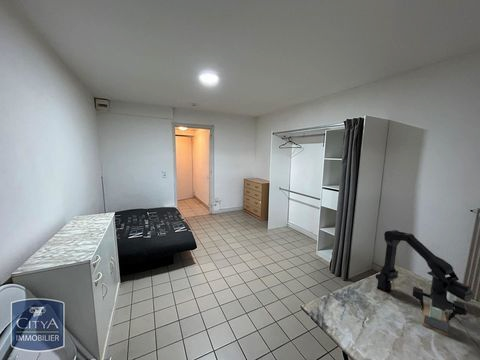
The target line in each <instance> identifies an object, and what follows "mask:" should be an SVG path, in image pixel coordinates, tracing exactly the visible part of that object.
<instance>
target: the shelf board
mask: <svg viewBox="0 0 480 360" xmlns="http://www.w3.org/2000/svg"><path fill="white" fill-rule="evenodd" d="M423 302H424V311H423V310H422V309H421V325H422V326H423V327H425V328H427V329H430V330H432V331H434V332H436V333H439V334H441V335H442V336H443V335H444V336H445V337H449V329H447V333H446V332H444V331H441V330H439V329H437V328H434V327H432V326H430V325H427V324H425V323H424V316H425V315H427V316H429V312H430V305H431V303H428V302H426V301H423ZM441 321H442V322H444V323H447V324H448V322H447V321H448V320H447V315H446V311H443V310H442V317H441Z"/></svg>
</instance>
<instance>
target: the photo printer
mask: <svg viewBox="0 0 480 360" xmlns="http://www.w3.org/2000/svg"><path fill="white" fill-rule="evenodd" d="M457 299H458V297H456V296H454V295H452V294H451V293H449V292H447V300H449V301H450V302H453V300H455V301H458V300H457Z"/></svg>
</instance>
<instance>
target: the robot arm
mask: <svg viewBox="0 0 480 360" xmlns="http://www.w3.org/2000/svg"><path fill="white" fill-rule="evenodd" d="M383 235H384V237H383V239H384V241H385V244H386V248H385V255H384V256H385V258H384V265H383V266H382V267H381V268H380V272H379V273H377V274H375V279H376V280H377V284H376V285H377V286H376V289H377V290H380V291H382V292H385V293H388V294H390V293H391V291H392V285H393V283H392V282H393V281H394V280H396V279H397V278H399V276H398V274H399V270H397V269H396V268H395V265H396V256H397V247H398V245H399V244H400V242H403V241H404V242H406V243H407V244H408V245H409V246H410V248H411V249H413V250H414V251H416V253H417V254H418V255H419V256H420V257H421V258H423V259H424V261H425V262H426V265H427V266H428V268H429V269H430V270H431V271H428V272H427V274H428V275H430V276H432V279H431V286H430V293H426V292H424V289H422V288H419V287H417V286H413V287H412V291H411V292H412V297H414V298H415V299H416V300H418V302H419V305H420V307H421V311H422V310H423V311H424V302H425V301H424V298H427V299H429V300H430V301H431V300H432V304H431V303H430V304H431V305H432V306H433V307H435V308H438V309H441V310H443V311H445V312H446V311H449V312H448V315H447V321H448V322H450V321H451V320H452V319H453V318H454V317H455V316H456V315H457V316H458V315H459V316H462V315H463V316H467V315H468V309H467V306H466V304H465V303H469V302H470V301H471V300H472V298H473V297H474V293H473V290H472V287H471V286H469V285H468V284H467V285H466V284H464V283H461V282H460V279H459V277H458V276H457V273H455V270H454V267H453V265H452V264H450V263H449V262H447V261H446V260H444V259H443V258H442V257H439V256H437V255H436V254H434V253H433V252H432V251H431V250H430V249H429V248H428V247H426V246H425V245H424V244H423V243H422V242H421V241H419V239H418V238H416V237H415V235H414V234H412V233H407V232H404V231H403V232H402V231H399V230H397V229H392V230H386V231H384V234H383ZM391 281H392V282H391ZM447 292H449V293H451V294H452V295H454V296H456V297H457V299H460V300H462V301H464V302H465V303H462V302H460V301H458V300H456V301H455V300H453V302H450V301H449V300H447Z"/></svg>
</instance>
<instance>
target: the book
mask: <svg viewBox="0 0 480 360" xmlns="http://www.w3.org/2000/svg"><path fill="white" fill-rule="evenodd" d="M430 304H432V300H431V299H430ZM429 317H432V318H434V319H437V320H439V321H441V317H442V310H441V309H438V308H435V307H433V306H432V305H430V312H429Z"/></svg>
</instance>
